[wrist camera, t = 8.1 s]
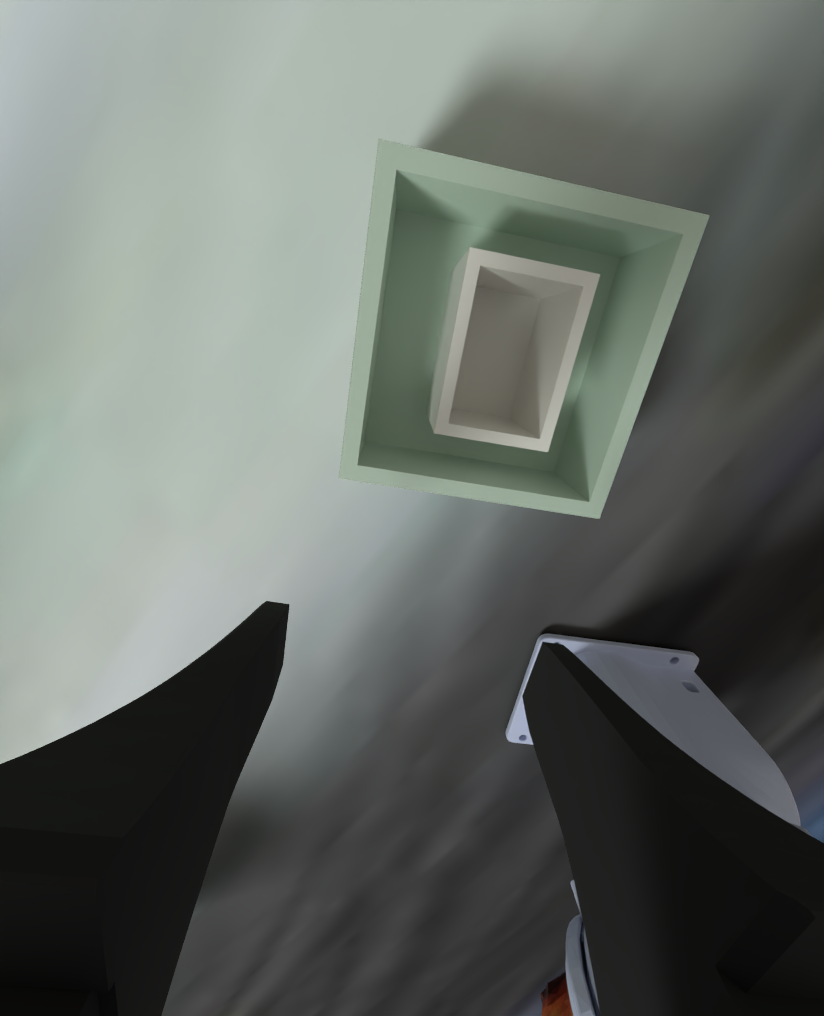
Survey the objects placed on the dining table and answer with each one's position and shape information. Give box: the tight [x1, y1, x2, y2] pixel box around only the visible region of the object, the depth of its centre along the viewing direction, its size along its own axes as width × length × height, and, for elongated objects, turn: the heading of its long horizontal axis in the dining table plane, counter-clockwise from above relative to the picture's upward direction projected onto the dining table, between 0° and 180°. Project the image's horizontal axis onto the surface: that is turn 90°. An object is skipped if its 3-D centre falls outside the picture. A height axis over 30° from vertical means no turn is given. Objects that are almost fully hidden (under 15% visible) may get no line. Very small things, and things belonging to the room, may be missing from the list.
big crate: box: [339, 139, 710, 519], centre depth 16 cm, size 10×10×4 cm
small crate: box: [426, 247, 600, 452], centre depth 15 cm, size 4×6×4 cm
